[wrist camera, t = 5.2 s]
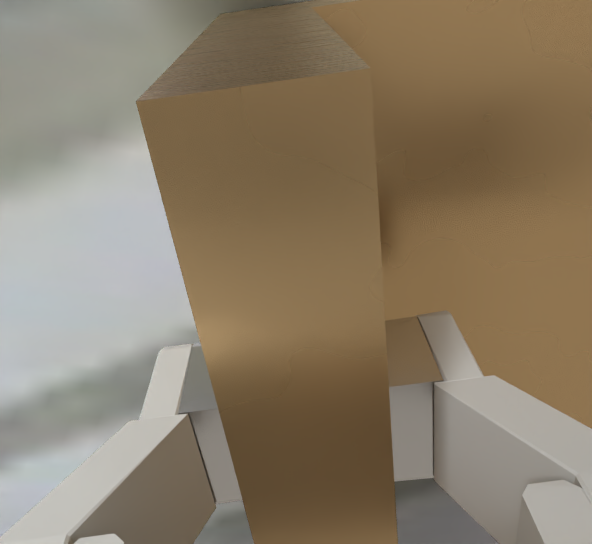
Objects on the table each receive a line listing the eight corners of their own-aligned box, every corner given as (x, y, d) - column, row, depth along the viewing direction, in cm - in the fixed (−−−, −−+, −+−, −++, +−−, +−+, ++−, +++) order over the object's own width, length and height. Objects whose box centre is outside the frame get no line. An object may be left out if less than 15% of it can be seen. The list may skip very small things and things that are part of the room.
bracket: (294, 426, 14) (312, 761, 8) (221, 13, 10) (136, 101, 3) (625, 384, 14) (891, 697, 8) (725, -60, 9) (1583, -104, 3)
